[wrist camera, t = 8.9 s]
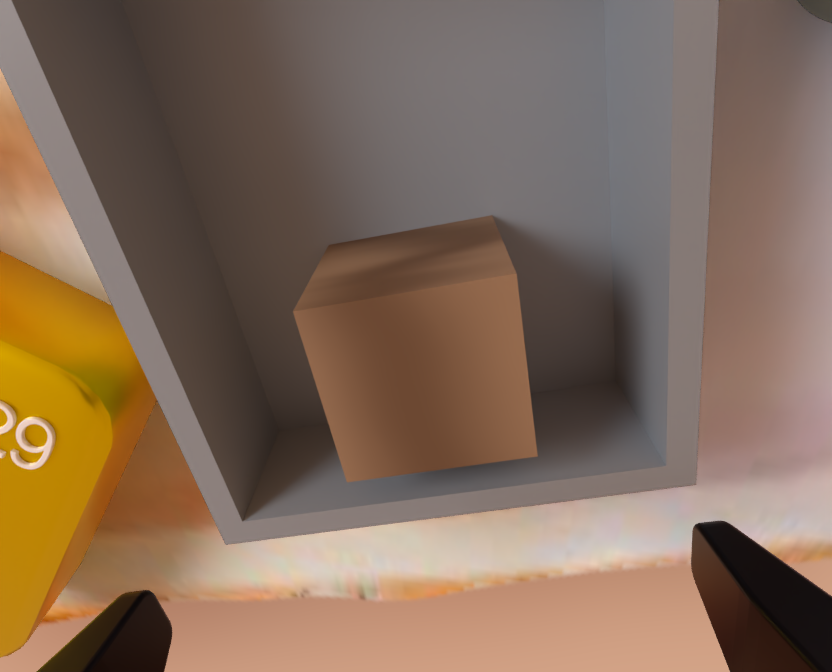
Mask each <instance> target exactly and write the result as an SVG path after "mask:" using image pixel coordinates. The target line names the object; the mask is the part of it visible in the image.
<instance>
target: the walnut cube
mask: <svg viewBox="0 0 832 672" xmlns="http://www.w3.org/2000/svg"><path fill="white" fill-rule="evenodd" d="M293 314H294V317H295V320H296V323H297V326H298V329H299V333H300V336H301V339H302V342H303V345H304V348H305V351H306V355H307V358H308V361H309V364H310V367H311V370H312V374H313V377H314V380H315V383H316V386H317V389H318V393H319V396H320V399H321V402H322V405H323V408H324V411H325V415H326V418H327V421H328V424H329V427H330V430H331V434H332V437H333V440H334V443H335V446H336V449H337V453H338V456H339V459H340V462H341V465H342V468H343V471H344V475H345V478H346V481H347V482H354V481H361V480H369V479H376V478H383V477H391V476H398V475H405V474H412V473H420V472H427V471H434V470H442V469H449V468H456V467H464V466H471V465H478V464H485V463H493V462H500V461H507V460H515V459H522V458H529V457H537V456H538V455H537V446H536V438H535V429H534V420H533V412H532V403H531V394H530V386H529V377H528V368H527V359H526V351H525V342H524V333H523V325H522V316H521V307H520V299H519V290H518V281H517V273H516V271H515V269H514V266H513V264H512V261H511V259H510V257H509V254H508V252H507V250H506V247H505V245H504V242H503V240H502V238H501V235H500V233H499V231H498V228H497V226H496V224H495V221H494V219H493V216H492V215H490V216H485V217H479V218H474V219H468V220H463V221H457V222H452V223H446V224H441V225H435V226H430V227H424V228H419V229H413V230H408V231H403V232H397V233H392V234H386V235H381V236H375V237H370V238H364V239H359V240H353V241H348V242H342V243H337V244H331V245H328V247H327V249H326V251H325V253H324V255H323V257H322V258H321V260H320V262H319V264H318V266H317V268H316V270H315V271H314V273H313V275H312V277H311V279H310V281H309V283H308V284H307V286H306V288H305V290H304V292H303V294H302V296H301V297H300V299H299V301H298V303H297V305H296V307H295V309H294V311H293Z"/></svg>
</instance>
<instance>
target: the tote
mask: <svg viewBox="0 0 832 672" xmlns="http://www.w3.org/2000/svg"><path fill="white" fill-rule="evenodd" d="M718 11H719V0H0V69H1V71H2V73H3V75H4V77H5V79H6V81H7V83H8V86H9V88H10V90H11V92H12V94H13V96H14V98H15V100H16V102H17V105H18V107H19V109H20V111H21V113H22V115H23V117H24V119H25V121H26V124H27V126H28V128H29V130H30V132H31V134H32V136H33V138H34V141H35V143H36V145H37V147H38V149H39V151H40V153H41V155H42V157H43V160H44V162H45V164H46V166H47V168H48V170H49V172H50V174H51V176H52V179H53V181H54V183H55V185H56V187H57V189H58V191H59V193H60V195H61V198H62V200H63V202H64V204H65V206H66V208H67V210H68V212H69V215H70V217H71V219H72V221H73V223H74V225H75V227H76V229H77V231H78V234H79V236H80V238H81V240H82V242H83V244H84V246H85V248H86V250H87V253H88V255H89V257H90V259H91V261H92V263H93V265H94V267H95V270H96V272H97V274H98V276H99V278H100V280H101V282H102V284H103V286H104V289H105V291H106V293H107V295H108V297H109V299H110V301H111V303H112V305H113V308H114V310H115V312H116V314H117V316H118V318H119V320H120V322H121V325H122V327H123V329H124V331H125V333H126V335H127V337H128V339H129V341H130V344H131V346H132V348H133V350H134V352H135V354H136V356H137V358H138V360H139V363H140V365H141V367H142V369H143V371H144V373H145V375H146V377H147V380H148V382H149V384H150V386H151V388H152V390H153V392H154V394H155V396H156V399H157V401H158V403H159V405H160V407H161V409H162V411H163V413H164V415H165V418H166V420H167V422H168V424H169V426H170V428H171V430H172V432H173V435H174V437H175V439H176V441H177V443H178V445H179V447H180V449H181V451H182V454H183V456H184V458H185V460H186V462H187V464H188V466H189V468H190V470H191V473H192V475H193V477H194V479H195V481H196V483H197V485H198V487H199V490H200V492H201V494H202V496H203V498H204V500H205V502H206V504H207V506H208V509H209V511H210V513H211V515H212V517H213V519H214V521H215V523H216V525H217V528H218V530H219V532H220V534H221V536H222V538H223V540H224V542H225V544H226V545H228V544H236V543H243V542H251V541H259V540H267V539H275V538H283V537H290V536H298V535H306V534H314V533H322V532H330V531H337V530H345V529H353V528H361V527H369V526H377V525H384V524H392V523H400V522H408V521H416V520H424V519H431V518H439V517H447V516H455V515H463V514H471V513H479V512H486V511H494V510H502V509H510V508H518V507H526V506H533V505H541V504H549V503H557V502H565V501H573V500H580V499H588V498H596V497H604V496H612V495H620V494H627V493H635V492H643V491H651V490H659V489H667V488H674V487H682V486H690V485H696V475H697V454H698V432H699V411H700V390H701V369H702V348H703V327H704V306H705V285H706V264H707V243H708V222H709V201H710V179H711V158H712V137H713V116H714V95H715V74H716V53H717V32H718ZM490 215H492V216H493V219H494V221H495V224H496V226H497V228H498V231H499V233H500V235H501V238H502V240H503V242H504V245H505V247H506V250H507V252H508V254H509V257H510V259H511V261H512V264H513V266H514V269H515V271H516V273H517V281H518V290H519V299H520V307H521V316H522V325H523V333H524V342H525V351H526V359H527V368H528V377H529V386H530V394H531V403H532V412H533V420H534V429H535V438H536V446H537V455H538V456H537V457H529V458H522V459H515V460H507V461H500V462H493V463H485V464H478V465H471V466H464V467H456V468H449V469H442V470H434V471H427V472H420V473H412V474H405V475H398V476H391V477H383V478H376V479H369V480H361V481H354V482H347V481H346V478H345V475H344V471H343V468H342V465H341V462H340V459H339V456H338V453H337V449H336V446H335V443H334V440H333V437H332V434H331V430H330V427H329V424H328V421H327V418H326V415H325V411H324V408H323V405H322V402H321V399H320V396H319V393H318V389H317V386H316V383H315V380H314V377H313V374H312V370H311V367H310V364H309V361H308V358H307V355H306V351H305V348H304V345H303V342H302V339H301V336H300V333H299V329H298V326H297V323H296V320H295V317H294V314H293V311H294V309H295V307H296V305H297V303H298V301H299V299H300V297H301V296H302V294H303V292H304V290H305V288H306V286H307V284H308V283H309V281H310V279H311V277H312V275H313V273H314V271H315V270H316V268H317V266H318V264H319V262H320V260H321V258H322V257H323V255H324V253H325V251H326V249H327V247H328V245H331V244H337V243H342V242H348V241H353V240H359V239H364V238H370V237H375V236H381V235H386V234H392V233H397V232H403V231H408V230H413V229H419V228H424V227H430V226H435V225H441V224H446V223H452V222H457V221H463V220H468V219H474V218H479V217H485V216H490Z"/></svg>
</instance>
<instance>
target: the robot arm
mask: <svg viewBox="0 0 832 672" xmlns="http://www.w3.org/2000/svg"><path fill="white" fill-rule="evenodd" d="M691 567H692V573H693V577H694V580H695V583H696V585H697V588H698V590H699V593H700V596H701V598H702V601H703V603H704V606H705V608H706V611H707V614H708V616H709V619H710V621H711V624H712V626H713V629H714V631H715V634H716V637H717V639H718V642H719V644H720V647H721V649H722V652H723V654H724V657H725V660H726V662H727V665H728V667H729V670H730V672H832V596H831V595H829V594H828V593H826V592H825V591H823V590H822V589H821V588H819V587H818V586H817V585H815V584H814V583H812V582H811V581H809V580H808V579H807V578H805V577H804V576H802V575H801V574H800V573H798V572H797V571H795V570H794V569H793V568H791V567H790V566H788V565H787V564H786V563H784V562H783V561H781V560H780V559H779V558H777V557H776V556H774V555H773V554H772V553H770V552H769V551H767V550H766V549H765V548H763V547H762V546H760V545H759V544H758V543H756V542H755V541H753V540H752V539H751V538H749V537H748V536H746V535H745V534H744V533H742V532H741V531H739V530H738V529H737V528H735V527H734V526H732V525H731V524H729V523H727V522H725V521H713V522H704V523H698V524H696V525H695V526H694V528H693V534H692V556H691ZM171 639H172V627H171V623H170V620H169V619H168V617H167V615H166V614H165V612H164V610H163V608H162V607H161V605H160V603H159V601H158V600H157V598H156V596H155V595H154V594H153V593H152V592H151V591H149V590H143V591H135V592H128V593H125V594H122V595H121V596H119V597H118V598H117V599H116V600H115V601H114V602H112V603H111V604H110V605H109V606H108V607H107V608H106V609H105V610H104V611H103V612H102V613H100V614H99V615H98V616H97V617H96V618H95V619H94V620H93V621H92V622H91V623H89V624H88V625H87V626H86V627H85V628H84V629H83V630H82V631H81V632H80V633H79V634H77V635H76V636H75V637H74V638H73V639H72V640H71V641H70V642H69V643H68V644H67V645H65V646H64V647H63V648H62V649H61V650H60V651H59V652H58V653H57V654H55V655H54V656H53V657H52V658H51V659H50V660H49V661H48V662H47V663H46V664H44V665H43V666H42V667H41V668H40V669H39V670H38V671H37V672H164V669H165V665H166V661H167V657H168V653H169V648H170V644H171Z"/></svg>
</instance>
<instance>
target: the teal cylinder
mask: <svg viewBox="0 0 832 672" xmlns="http://www.w3.org/2000/svg"><path fill="white" fill-rule="evenodd" d="M797 1H798V2H799V3H800V4H801V5H802V6H803V7H804V8H805V9H806V10H808V11H809V12H810V13H811V14H813V15H815V16H817V17H818V18H820V19H822V20H825V21H828V22H831V23H832V0H797Z"/></svg>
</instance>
